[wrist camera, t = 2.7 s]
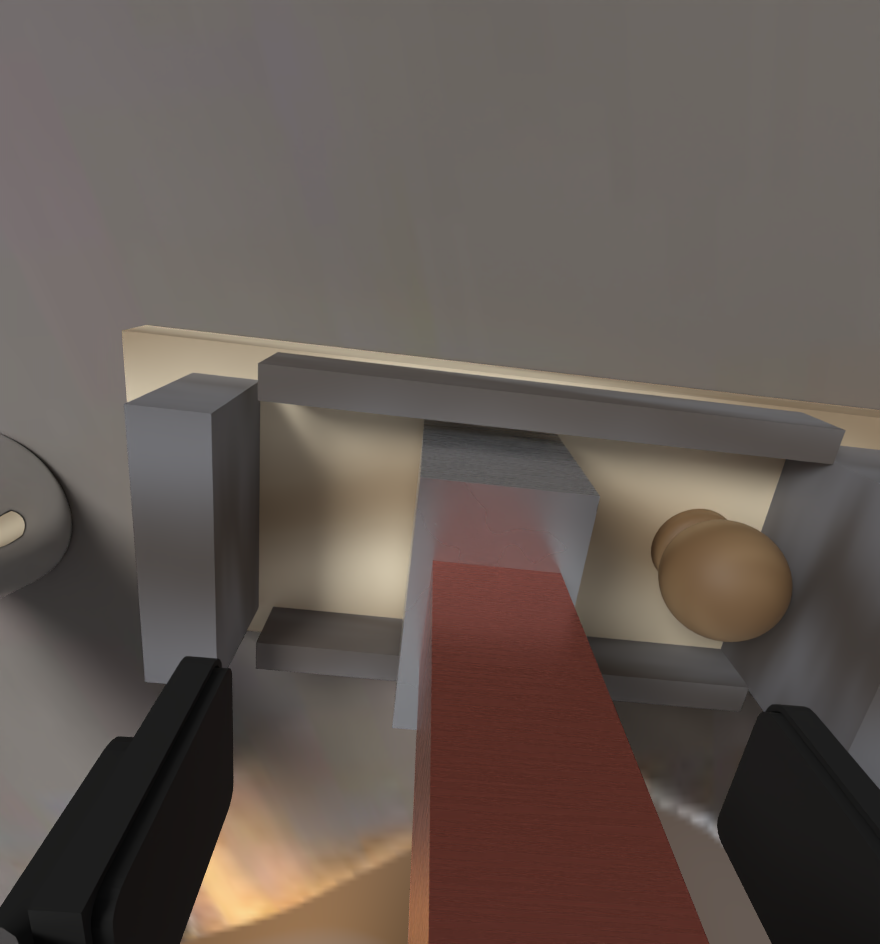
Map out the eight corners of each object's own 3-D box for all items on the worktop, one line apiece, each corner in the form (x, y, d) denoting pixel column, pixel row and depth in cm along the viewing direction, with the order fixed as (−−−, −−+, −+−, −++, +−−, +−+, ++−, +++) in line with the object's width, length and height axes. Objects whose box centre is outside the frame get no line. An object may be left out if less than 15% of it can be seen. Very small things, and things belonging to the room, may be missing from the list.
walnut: (729, 598, 20) (795, 674, 16) (627, 588, 20) (672, 662, 16) (761, 503, 19) (840, 562, 15) (653, 491, 18) (707, 548, 15)
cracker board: (830, 660, 23) (1008, 841, 16) (162, 597, 21) (28, 762, 14) (934, 416, 19) (1222, 506, 12) (146, 325, 18) (-40, 366, 11)
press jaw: (518, 626, 20) (651, 1219, 8) (402, 615, 20) (347, 1204, 7) (555, 432, 17) (840, 840, 5) (424, 417, 17) (396, 806, 5)
